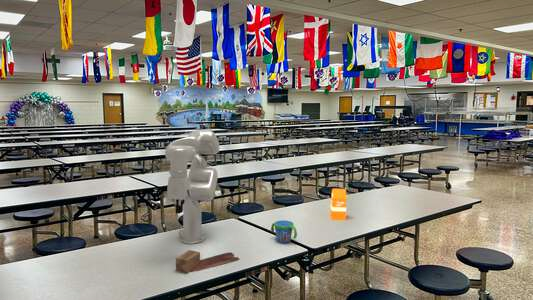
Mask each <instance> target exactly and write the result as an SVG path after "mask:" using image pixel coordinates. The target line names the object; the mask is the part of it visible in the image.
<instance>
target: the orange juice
mask: <svg viewBox="0 0 533 300" xmlns="http://www.w3.org/2000/svg"><path fill="white" fill-rule="evenodd" d="M346 189H347V188H332V190H331V195H330V198H331V199H330V215H329V217H330V220H331V221H346V218H347V217H346V216H347V190H346Z"/></svg>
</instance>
